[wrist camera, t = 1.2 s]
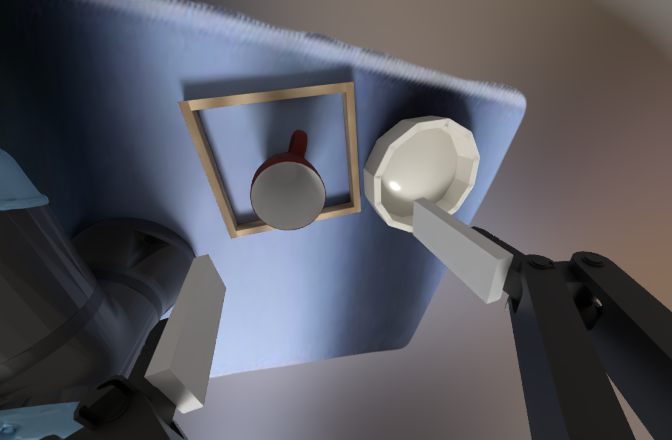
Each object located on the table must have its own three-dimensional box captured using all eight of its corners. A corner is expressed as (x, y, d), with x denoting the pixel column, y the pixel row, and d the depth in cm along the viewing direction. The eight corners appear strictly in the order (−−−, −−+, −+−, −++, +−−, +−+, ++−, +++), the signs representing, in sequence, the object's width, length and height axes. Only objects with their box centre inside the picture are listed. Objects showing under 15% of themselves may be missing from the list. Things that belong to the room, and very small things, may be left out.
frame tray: (232, 231, 36) (230, 238, 34) (183, 101, 27) (177, 101, 26) (356, 206, 39) (360, 211, 38) (348, 82, 30) (353, 81, 29)
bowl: (366, 227, 42) (375, 240, 38) (361, 125, 33) (372, 129, 30) (451, 208, 45) (467, 219, 41) (466, 110, 36) (489, 112, 32)
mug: (258, 117, 30) (254, 127, 21) (320, 130, 32) (338, 143, 24) (253, 194, 34) (247, 228, 26) (307, 200, 37) (318, 233, 28)
